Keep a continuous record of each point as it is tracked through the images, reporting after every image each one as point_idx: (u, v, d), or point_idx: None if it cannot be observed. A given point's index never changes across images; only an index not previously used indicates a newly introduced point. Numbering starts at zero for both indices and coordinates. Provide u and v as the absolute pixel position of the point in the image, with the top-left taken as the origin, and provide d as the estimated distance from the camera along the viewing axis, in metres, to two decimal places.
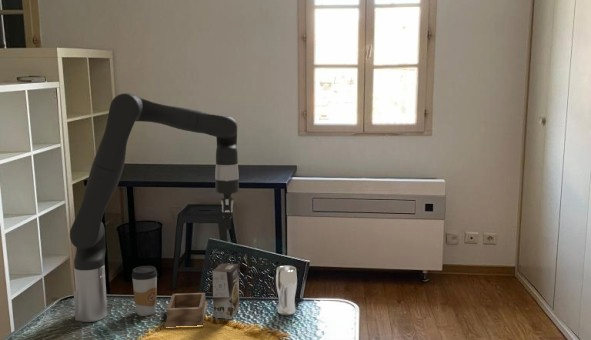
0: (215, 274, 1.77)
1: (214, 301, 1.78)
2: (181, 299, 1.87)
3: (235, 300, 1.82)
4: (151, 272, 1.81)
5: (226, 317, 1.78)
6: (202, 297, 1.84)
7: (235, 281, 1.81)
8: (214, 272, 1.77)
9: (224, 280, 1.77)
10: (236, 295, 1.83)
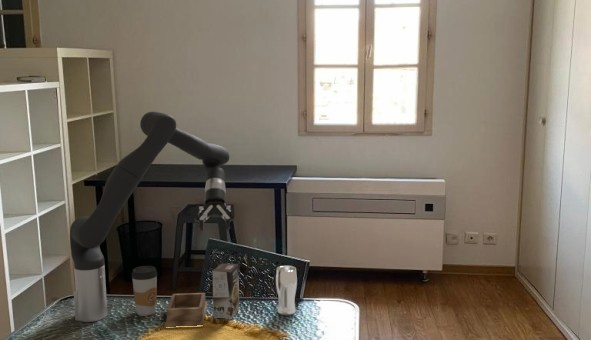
0: (215, 274, 1.77)
1: (214, 301, 1.78)
2: (181, 299, 1.87)
3: (235, 300, 1.82)
4: (151, 272, 1.81)
5: (226, 317, 1.78)
6: (202, 297, 1.84)
7: (235, 281, 1.81)
8: (214, 272, 1.77)
9: (223, 280, 1.77)
10: (236, 295, 1.83)
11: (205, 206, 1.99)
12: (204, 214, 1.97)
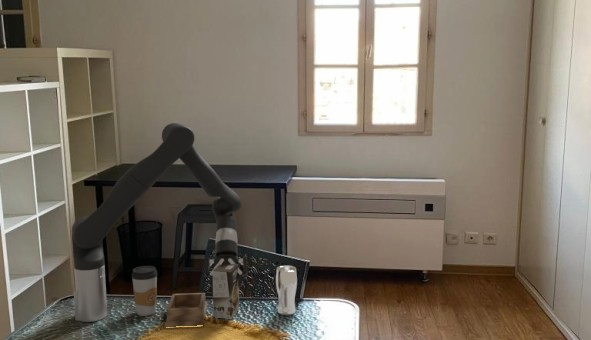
0: (215, 274, 1.77)
1: (214, 301, 1.78)
2: (181, 299, 1.87)
3: (235, 300, 1.82)
4: (151, 272, 1.81)
5: (226, 317, 1.78)
6: (202, 297, 1.84)
7: (235, 281, 1.81)
8: (214, 272, 1.77)
9: (224, 280, 1.77)
10: (236, 295, 1.83)
11: (216, 259, 1.86)
12: None
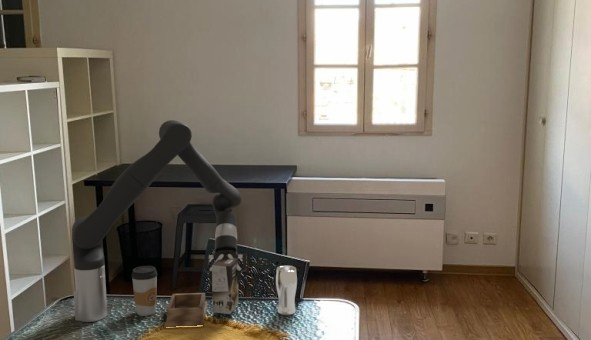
0: (214, 269, 1.77)
1: (213, 295, 1.78)
2: (181, 299, 1.87)
3: (234, 294, 1.81)
4: (151, 272, 1.81)
5: (225, 311, 1.78)
6: (202, 297, 1.84)
7: (234, 275, 1.81)
8: (213, 266, 1.77)
9: (223, 274, 1.77)
10: (235, 289, 1.83)
11: (215, 255, 1.85)
12: None
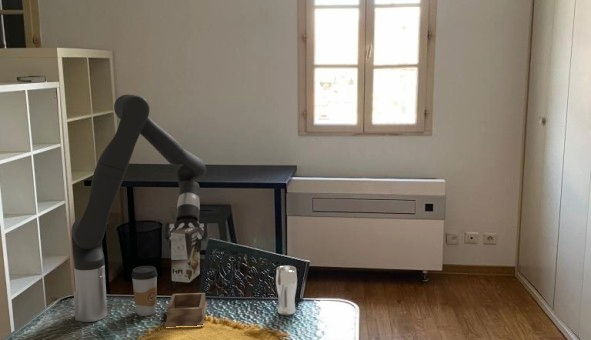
0: (173, 236, 1.74)
1: (172, 263, 1.76)
2: (181, 299, 1.87)
3: (194, 263, 1.79)
4: (151, 272, 1.81)
5: (184, 280, 1.75)
6: (202, 297, 1.84)
7: (195, 244, 1.78)
8: (172, 234, 1.74)
9: (182, 241, 1.74)
10: (196, 258, 1.80)
11: (176, 224, 1.82)
12: None
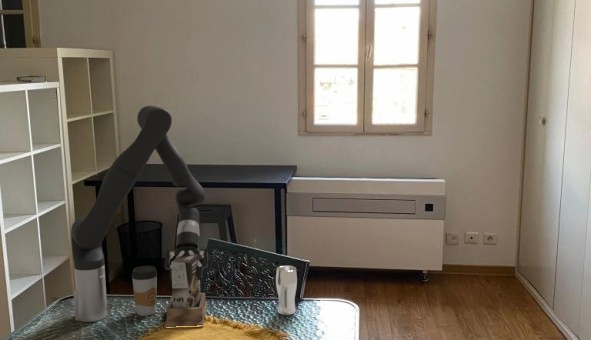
0: (174, 265, 1.76)
1: (173, 292, 1.77)
2: None
3: (195, 291, 1.80)
4: (151, 272, 1.81)
5: None
6: (202, 297, 1.84)
7: (195, 272, 1.80)
8: (173, 263, 1.76)
9: (182, 270, 1.75)
10: (196, 286, 1.81)
11: (176, 251, 1.84)
12: None
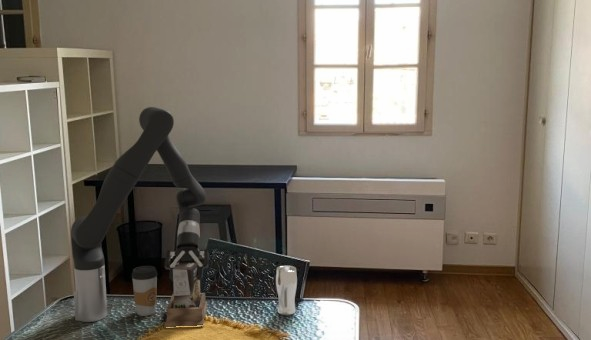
0: (175, 273, 1.76)
1: (175, 299, 1.77)
2: None
3: (196, 298, 1.81)
4: (151, 272, 1.81)
5: None
6: (202, 297, 1.84)
7: (196, 279, 1.80)
8: (174, 270, 1.76)
9: (184, 278, 1.76)
10: (197, 293, 1.82)
11: (177, 252, 1.85)
12: (175, 261, 1.82)
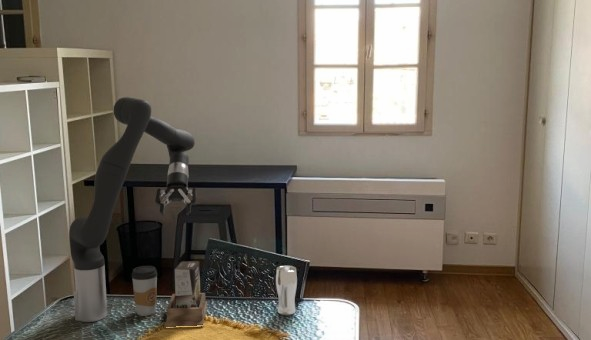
0: (177, 273, 1.76)
1: (177, 299, 1.77)
2: None
3: (197, 297, 1.81)
4: (151, 272, 1.81)
5: None
6: (202, 297, 1.84)
7: (197, 278, 1.81)
8: (176, 270, 1.76)
9: (186, 277, 1.76)
10: (198, 292, 1.82)
11: (166, 190, 1.98)
12: (165, 197, 1.96)
